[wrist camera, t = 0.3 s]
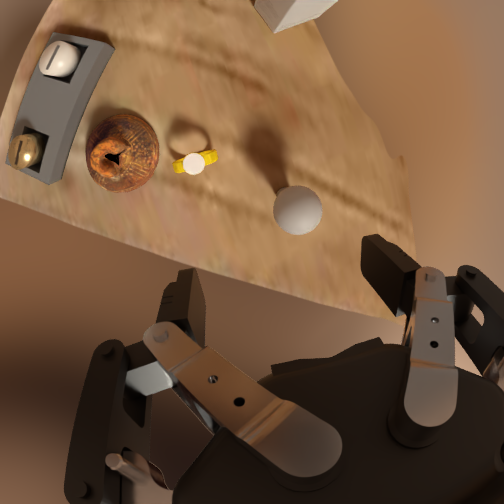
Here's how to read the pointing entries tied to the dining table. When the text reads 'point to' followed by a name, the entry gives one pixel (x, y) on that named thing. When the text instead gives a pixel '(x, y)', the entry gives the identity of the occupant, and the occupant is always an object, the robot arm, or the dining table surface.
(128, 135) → the broken clay vessel
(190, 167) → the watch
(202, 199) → the dining table surface
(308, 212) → the lightbulb
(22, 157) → the brass knob
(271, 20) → the skincare box
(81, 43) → the knob mount
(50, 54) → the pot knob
